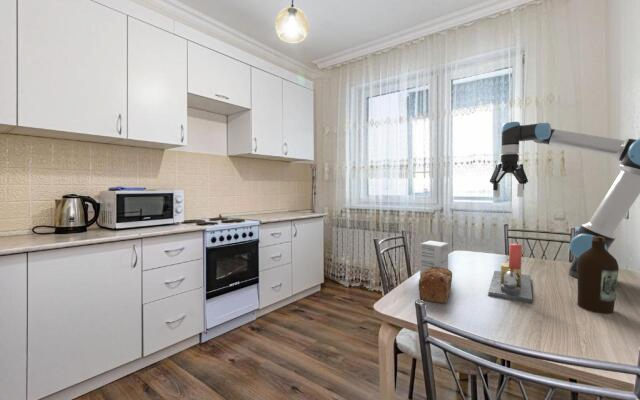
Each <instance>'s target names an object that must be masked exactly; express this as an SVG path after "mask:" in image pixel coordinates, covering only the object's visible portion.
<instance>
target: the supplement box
mask: <svg viewBox="0 0 640 400" xmlns="http://www.w3.org/2000/svg"><path fill="white" fill-rule="evenodd" d="M419 252H420V253H419V254H420V255H419V257H420V258H419V260H420V261H419V263H420V264H419V278H420V277H421V274H422V273H423V272H424V270H426V269H429V268H431V267H440V268H445V269H449V242H444V241H443V242H442V241H435V240H428V241H424V242H421V243H420V251H419Z"/></svg>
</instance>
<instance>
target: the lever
mask: <svg viewBox="0 0 640 400" xmlns="http://www.w3.org/2000/svg"><path fill="white" fill-rule="evenodd" d="M508 252H509V253H508V254H509V255H508V257H507V259H506V261H507V262H509V268H512V269H521V270H522V255H523V254H522V253H523V244H519V243H509V251H508Z"/></svg>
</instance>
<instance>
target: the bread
mask: <svg viewBox="0 0 640 400" xmlns="http://www.w3.org/2000/svg"><path fill="white" fill-rule="evenodd" d="M452 278H453V272H452V271H451V270H450V269H449V268H448V269H445V268H440V267H431V268H429V269H426V270H424V272H423V273H422V274H421V277H420V276H419V279H418V292H419V293H418V295H419V299H420V300H423V301H426V302H433V303H436V304H441V305H442V304H446V303H447V301H448V299H449V297H450V293H451V290H452V280H453V279H452Z"/></svg>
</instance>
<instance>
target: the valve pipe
mask: <svg viewBox="0 0 640 400" xmlns="http://www.w3.org/2000/svg"><path fill="white" fill-rule="evenodd" d="M500 266H501V267H500V271H499V270H494V272H493V276H492V279H491V281H490V285H489V289H488V293H487V295H488V296H489V297H495V298H502V299H507V300H512V301H517V302H524V303H529V304H532V303H533V294H532V293H533V292H532V283H531V282H532V281H531V275H530V274H523V273H522V268H521V269H512V268H509V261H507V262H501V265H500Z"/></svg>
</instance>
